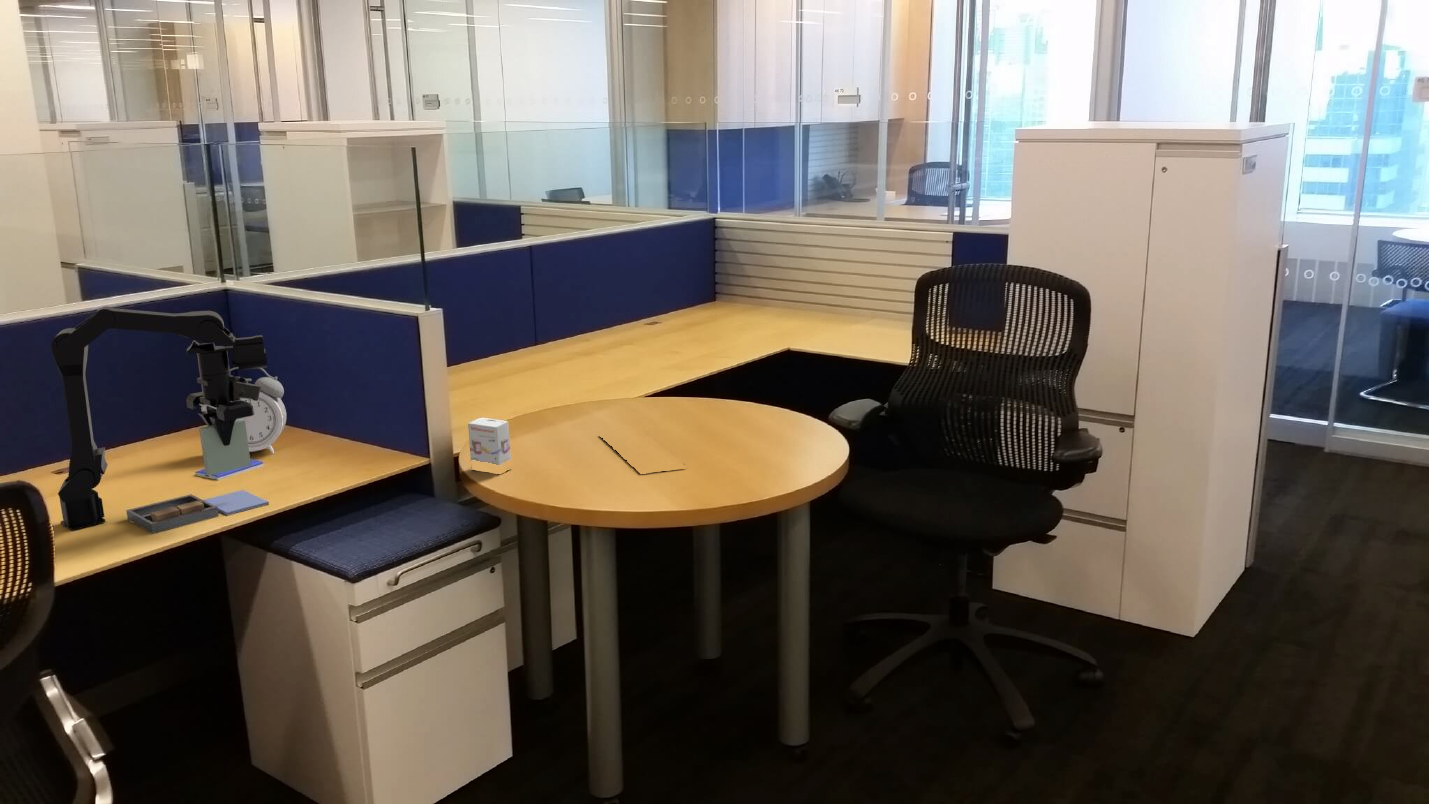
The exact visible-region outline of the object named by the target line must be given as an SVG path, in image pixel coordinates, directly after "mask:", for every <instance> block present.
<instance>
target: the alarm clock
mask: <svg viewBox="0 0 1429 804" xmlns="http://www.w3.org/2000/svg"><path fill="white" fill-rule="evenodd" d="M257 369H259V370H261V371H262V372H264V374H265V375H266V376H262V377H260V378H258V379H256V381H255V382H254V385H257V386H261V389H260V394H259V398H258V401H254V400H252V399H247V398H241V397H240V400H242V401H245V402H248V403H249V404H251V405H252V406H253V409H254V415H253V416H249V417H244V418H239V419H236V420H240V419H242V420H245V424H246V432H247V439H248V447H249V453H251V452H258V451H262V450H264V449H266V448H267V449H268V450H269V451H270V453H272V454H273V455H274V454H275V451H274V448H273V446H272V444H273V443H275V442H276V441H277V440H278V438H279V437H280V435H281V433H282V432H283V431H284V429H285V426H286V423H287V410H286V407H285V404H284V403H283V400H282V398H283V396H284V393H285V390H284V389H285V388H284V387H283V384H282V383H281V382H280V381H278V376H274V377H273V376H272V375H270V374H269V373H268V372H267V371H266V370H265V368H257ZM233 370H239V367H236V366H234V367H233V368H230V373H231V372H232V371H233ZM245 379H246V383H249V382H252V378H245ZM238 401H239V400H238ZM231 402H234V401H231Z"/></svg>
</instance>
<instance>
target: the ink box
mask: <svg viewBox="0 0 1429 804" xmlns="http://www.w3.org/2000/svg"><path fill="white" fill-rule="evenodd" d="M509 426H510V425H509V421H507V420H502V419H501V420H500V419H496V418H495V419H494V418H489V417H488V418H487V417H479V418H477V419H474V420H471V421H469V422H468V423H467V429H468V442H469V453H470V454H469V456H470V461H471V460H476V461H480V462H488V463H492V464H496V465H500V464H502V463H503V462H506V461H507V460H510V459H511V460H512V457H511V456H512V455H511V440H510V427H509Z"/></svg>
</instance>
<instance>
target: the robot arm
mask: <svg viewBox="0 0 1429 804" xmlns="http://www.w3.org/2000/svg"><path fill="white" fill-rule="evenodd" d="M224 324H225V323H224V319H223V318H222V317H221V315H220V314H219V313H218V312H216V311H212V310H199V311H198V310H197V311H188V312H180V313H178V312H177V313H173V312H172V313H170V312H160V311H158V312H157V311H147V310H138V309H137V310H135V309H127V308H115V307H111V306H102V307H100V308H98V309H97V310H96V311H95V313H93V314H92V315H90V316H89V317H88V318H86V319H85V320H83V321H82V322H80V323H79V324H78V325H76V326H75V327H74V328H73V327H68V328H64V329H62V330H61V331H59V333H57V334H56V335H55V336H54V338H53V339H52V341H51V342H50V351H51V354H52V356H53V359H54V364H55V366H56V367H57V370H58V372H59V374H60V376H61V378H62V383H63V391H64V399H65V406H66V411H67V412H66V414H67V421H68V429H69V434H70V435H69V436H70V437H69V438H70V444H71V446H70V455H69V464H68V474H67V475H68V476H67V477H66V478H65V479H64V480H63V482H62V485H61V486H60V489H59V490H58V492H57V495H58V496H59V502H60V510H61V515H62V520H60V524H61V525H62V526H64V527H66V528H67V529H68V530H70V531H76V530H79V529H83V528H87V527H92V526H95V525H99V524H104V523H106V519H105V518H104V517H105V511H104V510H105V509H104V504H103V499H102V498H101V497H100V496H99V492H98V491H97V490H94V488H96V487H97V486H99V484H100V482H101V481H102V480H101V479H102V477H103V475H105V473H106V471H107V468H108V466H109V465H108V463H107V461H106V457H105V456H106V447H104V446H103V447H99V448H98V446H97V444H96V442H95V440H94V434H93V433H94V432H93V424H92V418H91V416H92V415H91V409H90V403H89V402H90V401H89V400H90V399H89V393H88V386H87V379H86V378H87V377H86V370H87V369H86V368H87V362H88V352H89V345H90V344H91V343H93V342H94V341H95V340H96V339H97V338H99V337H100V336H101V335H102V334H104V333H105V332H106V331H108V329H109V330H110V329H114V330H115V329H116V330H125V331H126V330H127V331H140V332H149V333H150V332H152V333H164V334H173V335H177V336H180V337H184V338H187V339H189V340H192V343H191V344H190V345H189V346H188V348H186V355H192V354H193V355H195V354H196V355H197V362H198V363H197V364H198V370H199V377H197V378H196V382H197V384H200V385H201V390H202V391H199V392H194V393H189V395H187V397H186V407H187V408H188V409H191V410H195V409H196V408H197V406H200V409H201V411H199V412H197V414H198V415H199V416H200V418H201V419H202V420H203V421H204V423H205V424H206V427H208V426H212V425H214V427H215V429H216V431H217V433H218V435H219V437H220V439H221V441H222V443H223V445H224V446H228V445H230V441H231V436H232V431H233V426H234V423H235V421H236V419H239V418H244V417H249V416H253V415H254V409H253V406H252V405H251V404H249V403H248V402H245V401H242V400H240V397H241V398H247V399H252V400H254V401H258V398H259V394H260V389H261V386H257V385H255V383H254V384H253V383H249V382H248V383H246V379H247V378H245V377H241V376H234V375H232V374H231V372H230V369H231V368H230V364H229V363H230V362H229V361H230V360H229V355H228V352H229V351H230V356H231V357H230V358H231V363H232V367H239V368H238V370H239V371H243V370H255V369H258V368H262V369H266V368H268V361H267V354H266V349H265V347H264V346H265V345H264V338H263V334H262V335H261V334H260V335H254V336H247V337H237V338H236V336H235V335H234V334H233V333H232V332H231V331H230V330H229V329H228V328H227V327H226V326H225V325H224ZM199 342H203V343H199ZM215 343H216V344H217V345H215ZM238 400H239V401H238ZM231 401H234V402H231Z"/></svg>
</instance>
